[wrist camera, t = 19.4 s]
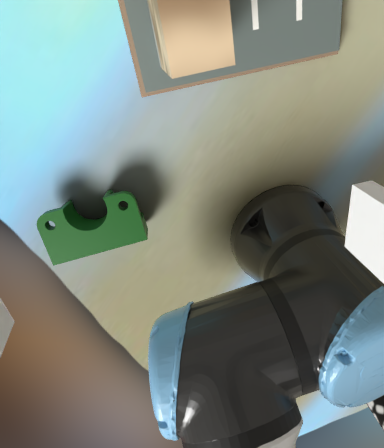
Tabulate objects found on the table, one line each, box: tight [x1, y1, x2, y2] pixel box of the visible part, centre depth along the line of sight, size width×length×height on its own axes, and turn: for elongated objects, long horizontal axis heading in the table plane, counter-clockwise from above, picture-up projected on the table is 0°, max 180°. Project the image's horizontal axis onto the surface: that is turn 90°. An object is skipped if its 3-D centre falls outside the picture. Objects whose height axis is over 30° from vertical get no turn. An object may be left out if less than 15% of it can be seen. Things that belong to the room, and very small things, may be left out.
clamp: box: [37, 190, 148, 265], centre depth 39 cm, size 12×6×9 cm, turn 95°
